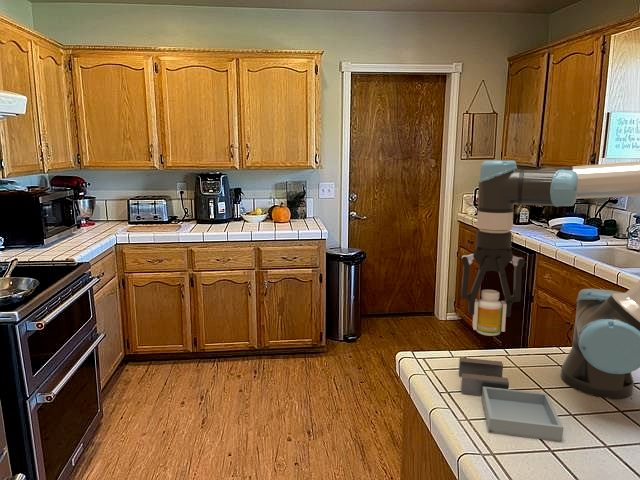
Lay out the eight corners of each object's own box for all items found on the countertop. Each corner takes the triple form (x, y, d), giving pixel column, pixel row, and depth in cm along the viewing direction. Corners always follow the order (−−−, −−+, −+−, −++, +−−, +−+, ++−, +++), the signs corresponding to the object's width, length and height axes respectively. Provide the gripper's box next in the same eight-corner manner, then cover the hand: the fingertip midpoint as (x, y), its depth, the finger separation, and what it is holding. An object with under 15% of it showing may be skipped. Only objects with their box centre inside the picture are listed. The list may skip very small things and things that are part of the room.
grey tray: (545, 406, 105) (547, 393, 105) (561, 441, 92) (563, 427, 92) (481, 398, 108) (482, 386, 108) (488, 432, 95) (489, 418, 95)
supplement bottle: (502, 337, 109) (504, 295, 107) (477, 335, 110) (479, 294, 108) (498, 328, 114) (500, 289, 112) (474, 327, 115) (476, 288, 113)
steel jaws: (500, 376, 119) (501, 361, 118) (507, 399, 108) (509, 382, 107) (458, 372, 121) (459, 357, 120) (461, 394, 110) (462, 377, 109)
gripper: (534, 228, 109) (527, 325, 113) (450, 226, 113) (446, 320, 117) (542, 234, 102) (534, 337, 106) (452, 231, 106) (448, 331, 110)
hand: (488, 328), depth 112 cm, fingers closed on supplement bottle, 5 cm apart
